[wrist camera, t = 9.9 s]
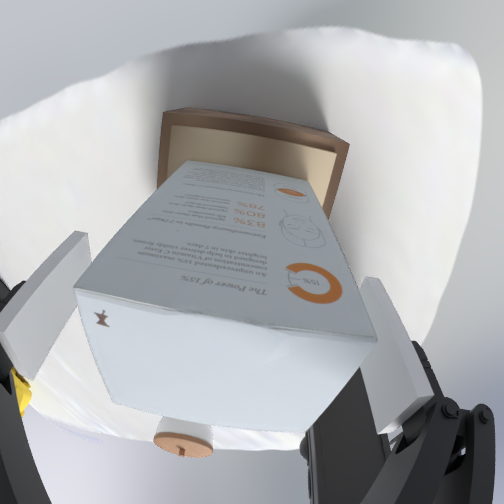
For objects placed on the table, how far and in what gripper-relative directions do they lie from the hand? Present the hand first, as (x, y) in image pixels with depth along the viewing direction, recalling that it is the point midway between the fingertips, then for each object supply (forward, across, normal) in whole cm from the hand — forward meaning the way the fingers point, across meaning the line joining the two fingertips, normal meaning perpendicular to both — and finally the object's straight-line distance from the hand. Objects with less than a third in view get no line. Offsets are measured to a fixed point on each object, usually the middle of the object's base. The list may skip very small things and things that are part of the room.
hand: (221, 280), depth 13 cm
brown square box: (+14, +1, 0) cm, 14 cm away
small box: (+8, 0, 0) cm, 8 cm away
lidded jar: (+14, -3, -44) cm, 46 cm away
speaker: (+14, +17, -28) cm, 36 cm away
